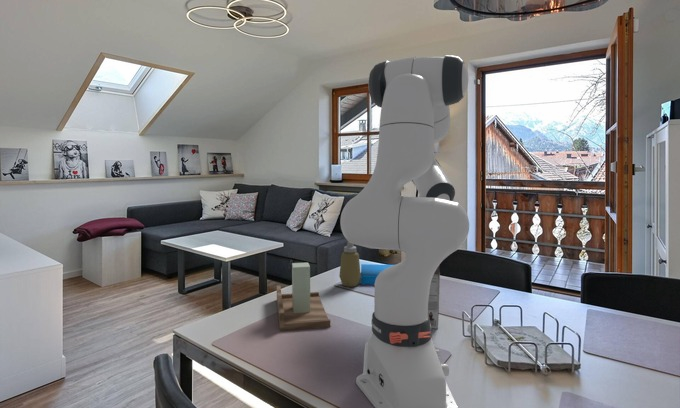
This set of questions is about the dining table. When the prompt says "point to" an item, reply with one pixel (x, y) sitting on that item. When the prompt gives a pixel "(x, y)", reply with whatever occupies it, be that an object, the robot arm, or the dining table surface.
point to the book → (371, 272)
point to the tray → (300, 320)
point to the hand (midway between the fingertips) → (360, 214)
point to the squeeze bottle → (350, 266)
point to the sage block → (301, 287)
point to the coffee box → (434, 299)
